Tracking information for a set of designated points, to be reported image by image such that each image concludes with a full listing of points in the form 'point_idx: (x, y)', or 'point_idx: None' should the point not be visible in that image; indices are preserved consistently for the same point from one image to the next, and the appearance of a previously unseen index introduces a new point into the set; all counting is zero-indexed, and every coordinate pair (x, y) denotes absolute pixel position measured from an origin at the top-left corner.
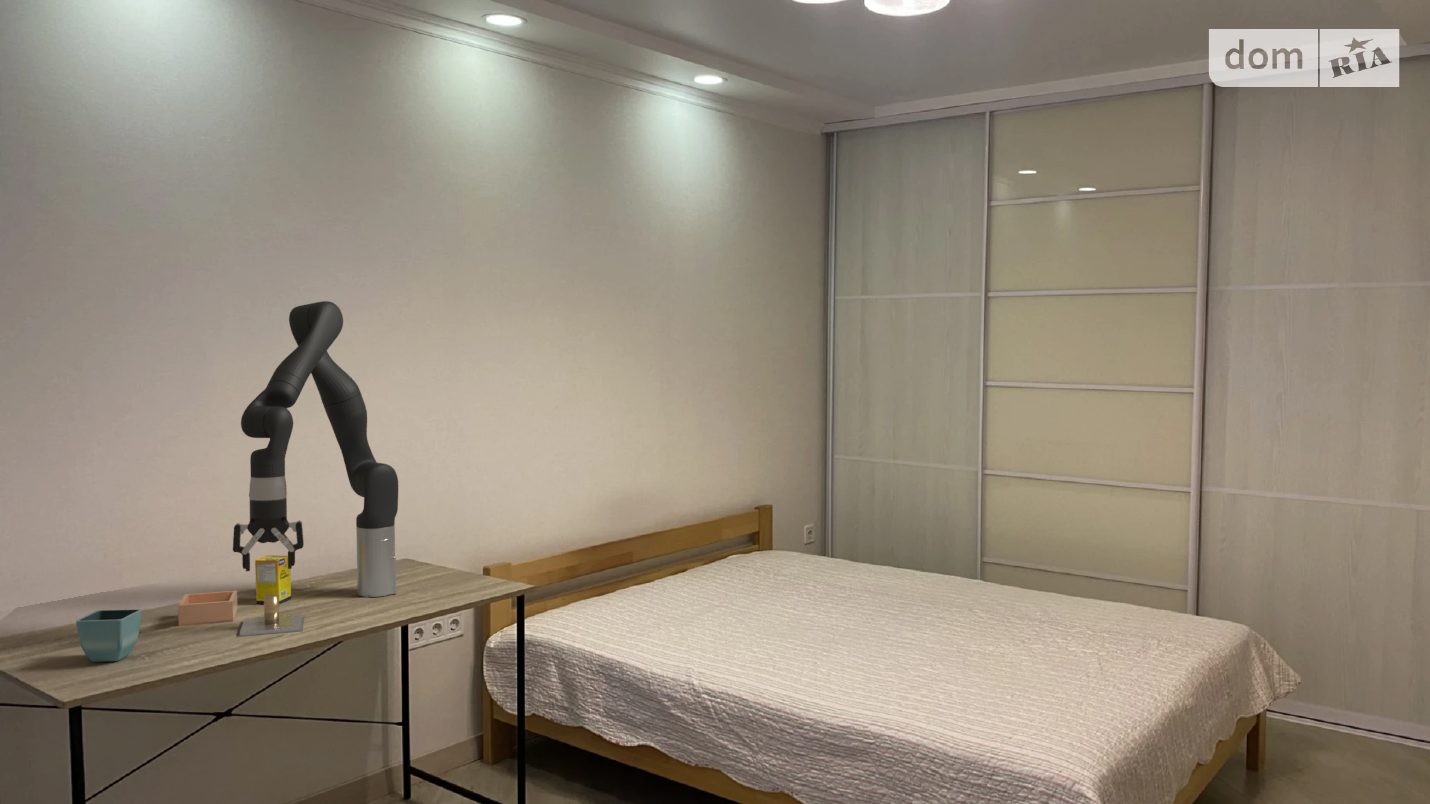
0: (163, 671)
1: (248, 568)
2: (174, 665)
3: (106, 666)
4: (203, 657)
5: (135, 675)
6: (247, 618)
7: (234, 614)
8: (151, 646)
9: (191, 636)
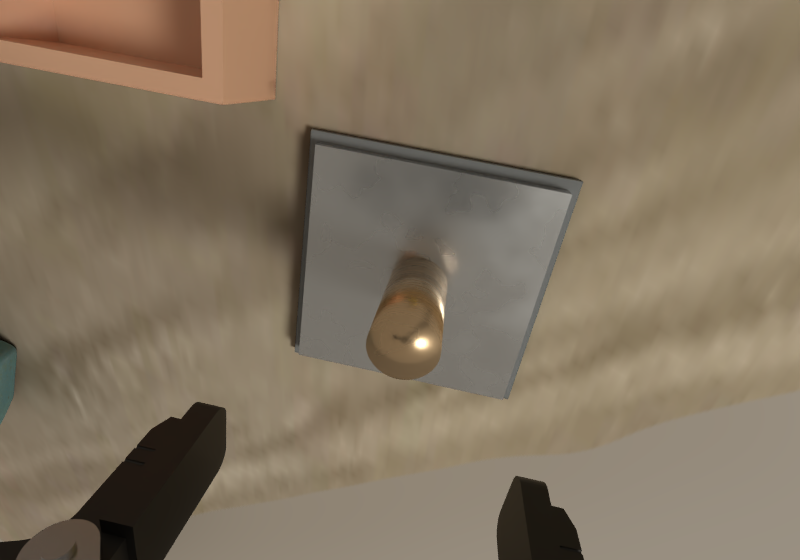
0: None
1: (208, 476)
2: None
3: None
4: None
5: None
6: (327, 148)
7: (267, 12)
8: (48, 290)
9: (144, 232)
